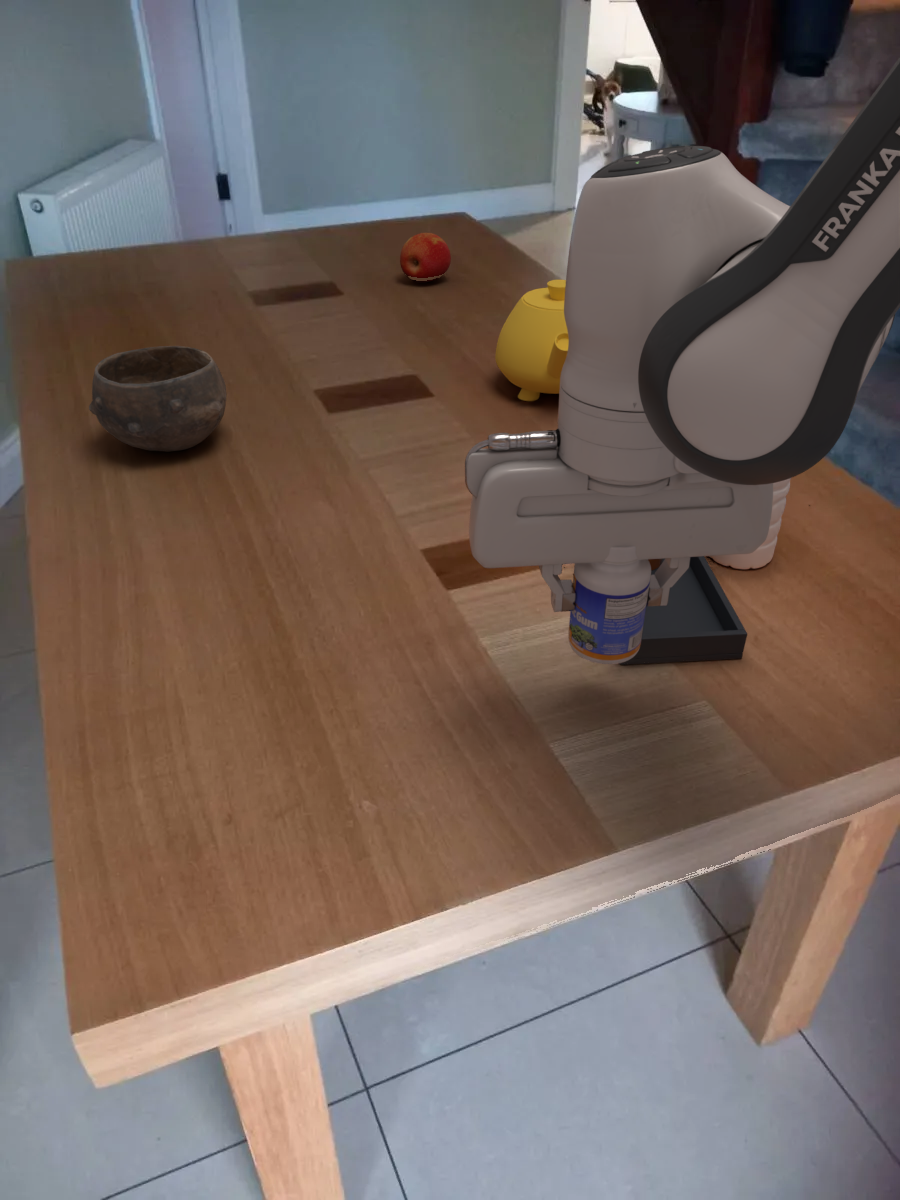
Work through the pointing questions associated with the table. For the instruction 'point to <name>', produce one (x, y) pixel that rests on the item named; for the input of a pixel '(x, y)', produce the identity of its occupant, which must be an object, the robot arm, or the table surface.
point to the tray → (691, 622)
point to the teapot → (535, 342)
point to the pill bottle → (609, 607)
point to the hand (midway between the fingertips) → (608, 604)
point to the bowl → (159, 397)
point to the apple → (425, 256)
